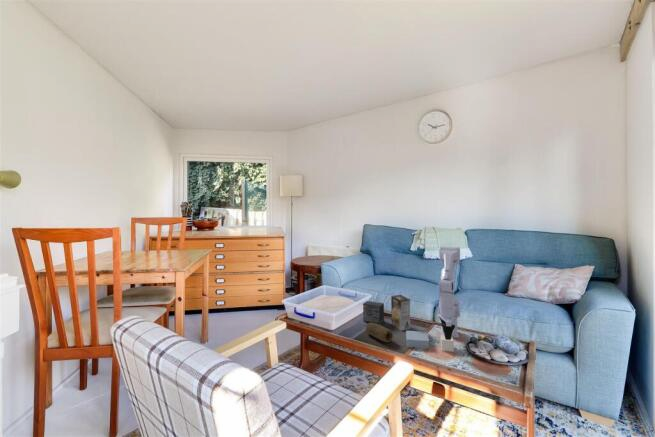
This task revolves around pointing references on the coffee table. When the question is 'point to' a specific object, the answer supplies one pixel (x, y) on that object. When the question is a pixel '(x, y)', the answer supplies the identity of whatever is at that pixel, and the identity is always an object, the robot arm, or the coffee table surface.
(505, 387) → the coffee table surface
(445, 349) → the cube
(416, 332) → the base block
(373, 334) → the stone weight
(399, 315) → the coffee box
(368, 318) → the small box
